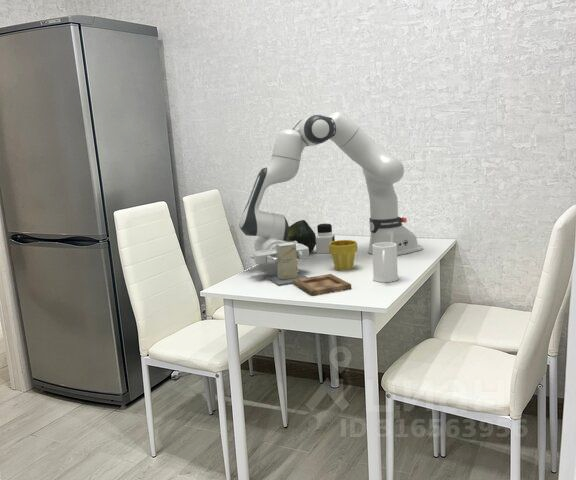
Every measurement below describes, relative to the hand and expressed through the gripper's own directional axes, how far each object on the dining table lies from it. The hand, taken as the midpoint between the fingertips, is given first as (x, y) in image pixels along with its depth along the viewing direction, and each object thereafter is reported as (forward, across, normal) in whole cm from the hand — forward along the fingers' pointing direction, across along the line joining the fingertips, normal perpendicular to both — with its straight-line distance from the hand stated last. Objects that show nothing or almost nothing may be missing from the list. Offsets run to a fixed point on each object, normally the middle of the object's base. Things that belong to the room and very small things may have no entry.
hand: (288, 258), depth 201 cm
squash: (-39, +19, +8) cm, 44 cm away
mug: (+19, +27, +8) cm, 34 cm away
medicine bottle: (-34, +29, +8) cm, 45 cm away
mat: (-1, 0, +8) cm, 8 cm away
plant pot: (-4, +23, +8) cm, 25 cm away
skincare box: (-1, 0, +7) cm, 7 cm away
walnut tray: (+14, +6, +8) cm, 17 cm away
